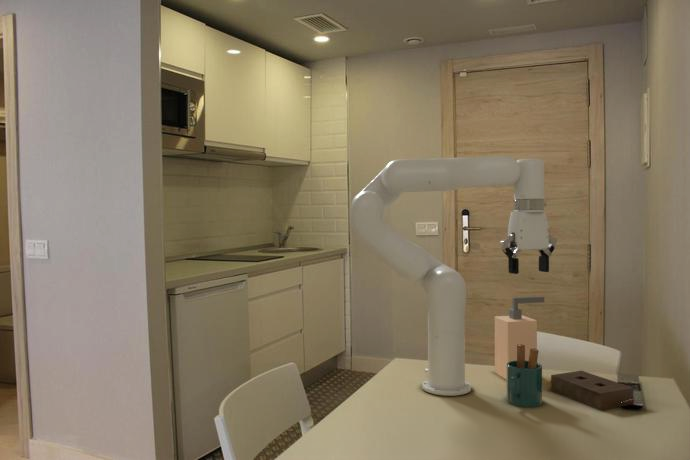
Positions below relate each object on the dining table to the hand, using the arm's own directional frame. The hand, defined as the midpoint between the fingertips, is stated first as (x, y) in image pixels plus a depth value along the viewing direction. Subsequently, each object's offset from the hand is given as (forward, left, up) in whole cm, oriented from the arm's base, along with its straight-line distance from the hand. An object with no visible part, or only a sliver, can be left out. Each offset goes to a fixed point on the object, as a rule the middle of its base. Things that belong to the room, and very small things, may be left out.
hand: (528, 272), depth 150 cm
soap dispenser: (-10, +6, -31) cm, 33 cm away
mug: (+9, -10, -30) cm, 33 cm away
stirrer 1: (+7, -8, -30) cm, 32 cm away
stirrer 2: (+9, -8, -30) cm, 32 cm away
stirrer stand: (+12, +9, -30) cm, 34 cm away
